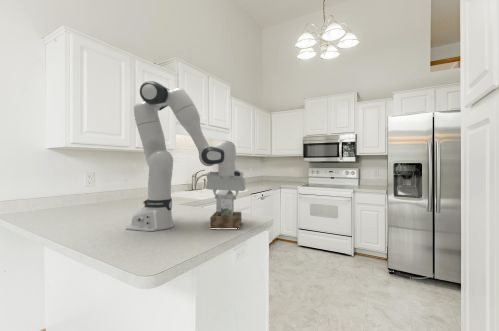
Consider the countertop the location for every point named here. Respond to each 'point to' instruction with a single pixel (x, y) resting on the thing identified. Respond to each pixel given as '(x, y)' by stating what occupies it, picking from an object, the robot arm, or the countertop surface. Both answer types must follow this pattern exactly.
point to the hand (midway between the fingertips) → (225, 198)
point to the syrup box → (227, 207)
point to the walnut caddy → (225, 220)
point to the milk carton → (221, 195)
